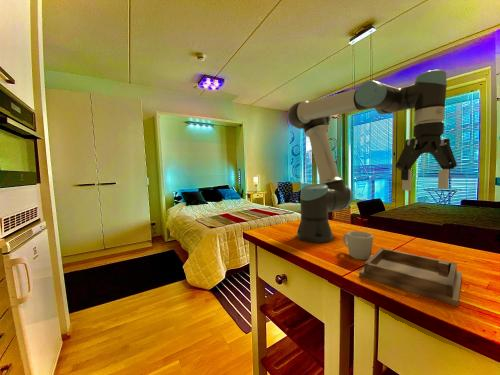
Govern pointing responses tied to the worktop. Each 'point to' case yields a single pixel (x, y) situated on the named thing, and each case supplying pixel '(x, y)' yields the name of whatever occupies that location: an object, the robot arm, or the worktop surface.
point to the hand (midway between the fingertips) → (424, 189)
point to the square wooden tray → (415, 274)
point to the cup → (359, 244)
